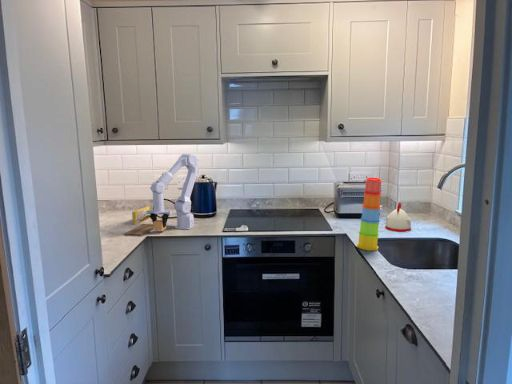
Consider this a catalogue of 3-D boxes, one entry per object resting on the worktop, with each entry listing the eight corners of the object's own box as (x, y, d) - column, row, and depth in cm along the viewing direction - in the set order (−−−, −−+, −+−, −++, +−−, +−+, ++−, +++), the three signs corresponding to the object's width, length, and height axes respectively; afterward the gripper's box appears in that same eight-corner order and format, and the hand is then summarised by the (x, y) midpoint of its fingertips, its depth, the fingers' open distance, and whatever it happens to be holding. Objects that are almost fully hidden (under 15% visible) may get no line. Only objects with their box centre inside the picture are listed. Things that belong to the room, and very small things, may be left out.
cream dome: (412, 227, 219) (414, 202, 217) (408, 233, 208) (410, 207, 205) (387, 224, 226) (389, 200, 224) (382, 230, 215) (384, 204, 212)
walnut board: (158, 226, 227) (158, 224, 226) (141, 236, 207) (140, 234, 207) (143, 225, 229) (142, 223, 229) (124, 235, 210) (124, 233, 209)
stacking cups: (372, 243, 191) (375, 176, 185) (382, 250, 181) (386, 179, 175) (353, 244, 189) (356, 176, 183) (362, 251, 179) (365, 180, 173)
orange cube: (166, 228, 216) (165, 219, 215) (162, 230, 211) (161, 221, 210) (158, 227, 217) (157, 219, 216) (154, 230, 212) (153, 221, 211)
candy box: (135, 225, 231) (134, 212, 229) (132, 224, 232) (131, 211, 230) (150, 218, 246) (149, 206, 244) (147, 218, 247) (147, 206, 245)
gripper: (143, 204, 209) (144, 227, 212) (167, 205, 206) (168, 229, 209) (149, 201, 216) (151, 224, 218) (172, 202, 213) (174, 225, 215)
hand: (160, 226), depth 214 cm, fingers closed on orange cube, 5 cm apart
